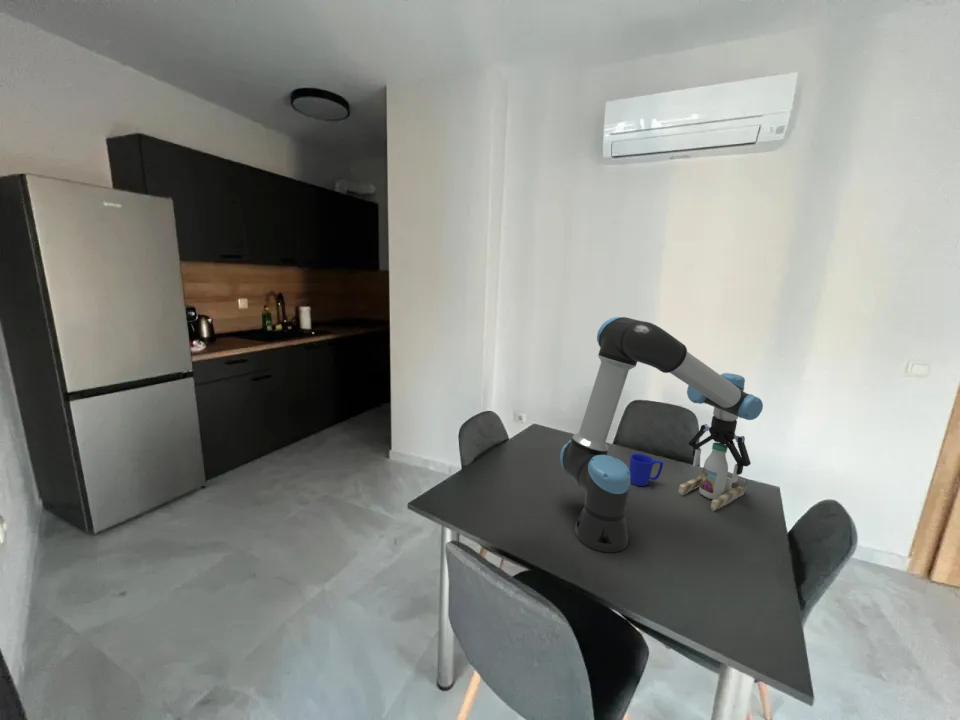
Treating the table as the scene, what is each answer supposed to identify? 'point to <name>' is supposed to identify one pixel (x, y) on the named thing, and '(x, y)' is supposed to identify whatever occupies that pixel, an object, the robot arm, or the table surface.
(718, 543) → the table surface
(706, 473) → the milk bottle
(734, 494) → the lane
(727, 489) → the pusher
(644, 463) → the mug
